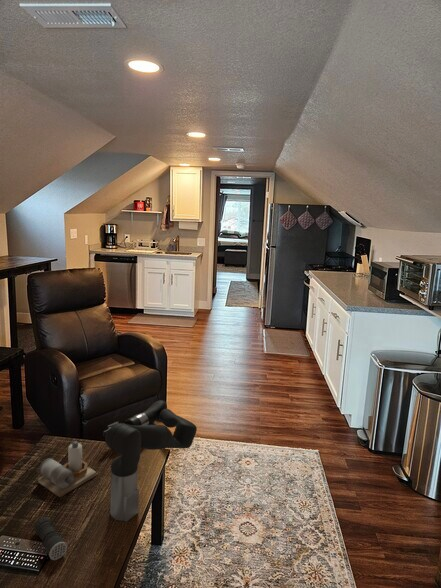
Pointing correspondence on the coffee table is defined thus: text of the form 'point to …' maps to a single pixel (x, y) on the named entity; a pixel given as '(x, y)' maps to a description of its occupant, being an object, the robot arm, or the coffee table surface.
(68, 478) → the motor mount
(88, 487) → the coffee table surface
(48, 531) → the flashlight
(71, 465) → the white capped bottle
